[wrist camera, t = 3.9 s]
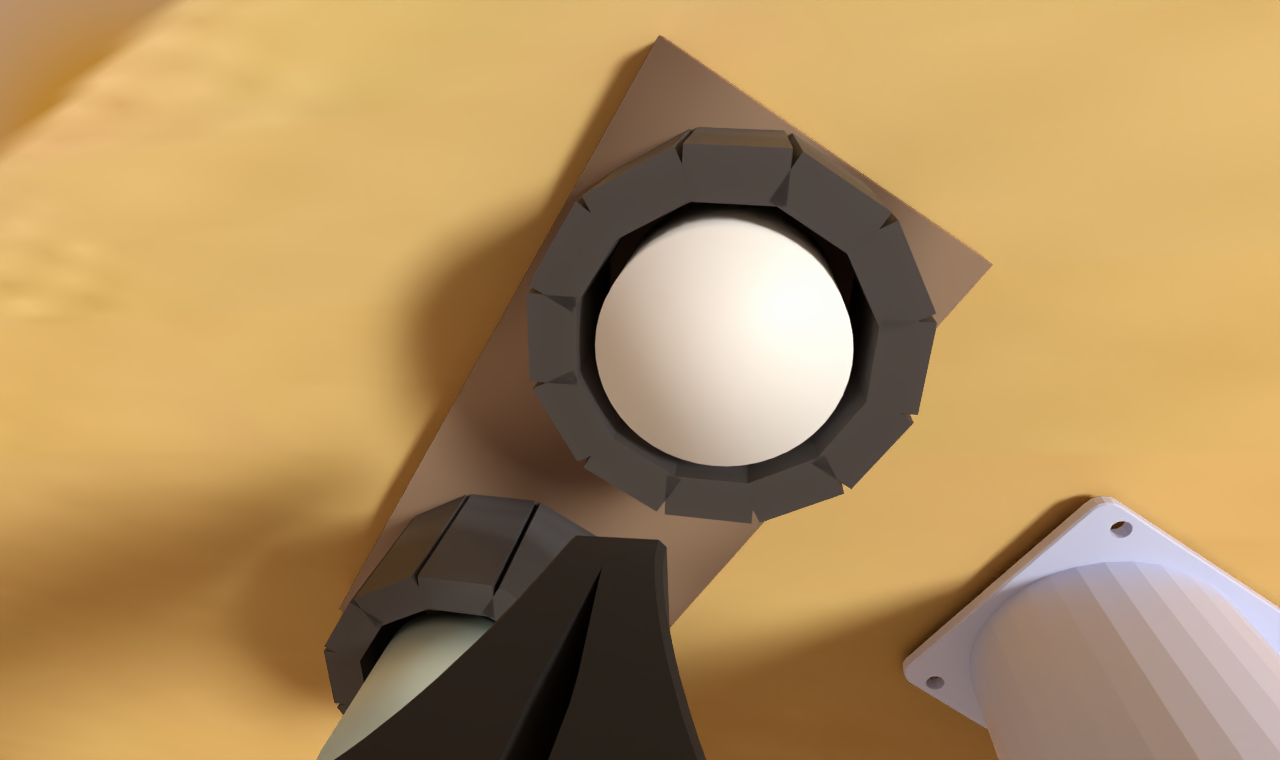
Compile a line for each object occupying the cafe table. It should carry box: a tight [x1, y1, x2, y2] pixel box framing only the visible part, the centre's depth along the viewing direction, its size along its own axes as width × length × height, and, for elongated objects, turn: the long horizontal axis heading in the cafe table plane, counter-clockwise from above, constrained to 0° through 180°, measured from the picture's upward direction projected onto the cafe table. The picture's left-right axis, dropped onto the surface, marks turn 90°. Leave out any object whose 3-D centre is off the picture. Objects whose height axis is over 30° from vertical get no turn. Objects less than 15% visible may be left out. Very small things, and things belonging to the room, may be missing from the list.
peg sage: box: [317, 611, 496, 760], centre depth 18 cm, size 5×5×4 cm
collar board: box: [324, 35, 992, 715], centre depth 18 cm, size 9×20×4 cm, turn 148°
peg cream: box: [595, 202, 853, 466], centre depth 15 cm, size 5×5×4 cm
